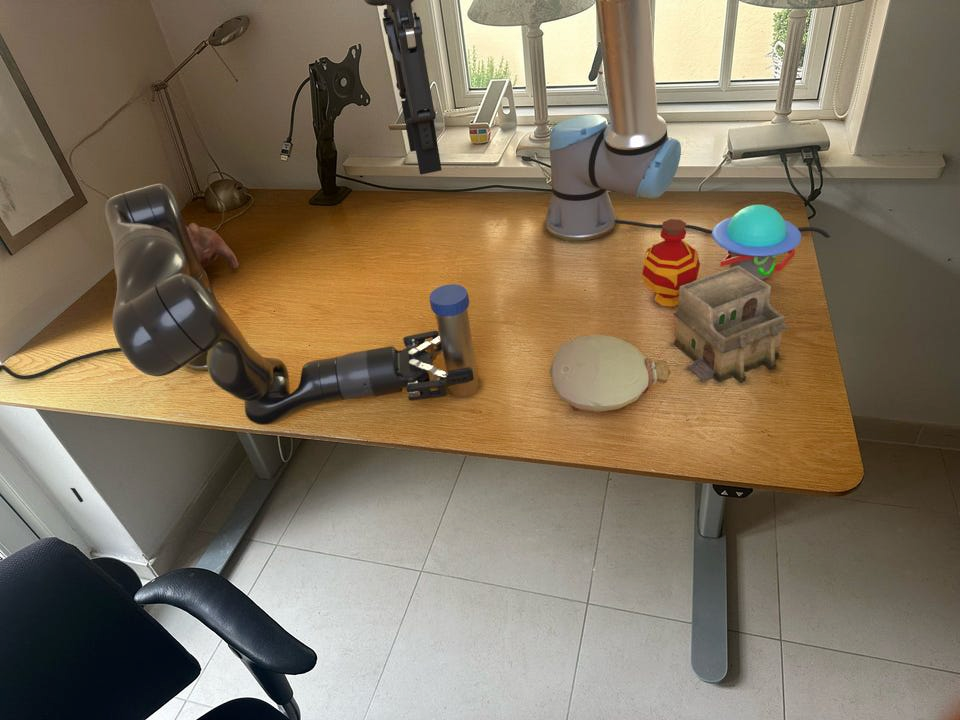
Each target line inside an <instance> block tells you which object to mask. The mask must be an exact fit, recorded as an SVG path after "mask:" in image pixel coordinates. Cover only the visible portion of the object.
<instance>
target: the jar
mask: <svg viewBox="0 0 960 720" xmlns="http://www.w3.org/2000/svg"><path fill="white" fill-rule="evenodd" d="M469 317H470V316H469V311H468V308H467V309H466V310H465V311H464V312H462V313H460V314H458V315H455V316H447V317H446V316H439V315H437V314H435V319H436V325H437V329H438V330H437V331H438V332H439V335H440V341H441V346H442V351H443V352H442V355H443V356H442V357H443V361H444V366H445V372H447V373H448V371H450V370H456V369H462V368H468V367H471V368H472V370H473V377H474V379H473V380H472V381H470V382H467V383H462V384H456V385H451V386H450V387H449V388H448V389H449V392H450V393H451V395H453V396H456V397H459V398H465V397H469V396H472V395H474V394H475V393H476V392H477V391H478V390H479V388H480V383H479V377H478V369H477V364H476V357H475V349H474V343H473V338H472V337H473V336H472V330H471V324H470V318H469ZM448 374H449V373H448Z"/></svg>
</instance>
